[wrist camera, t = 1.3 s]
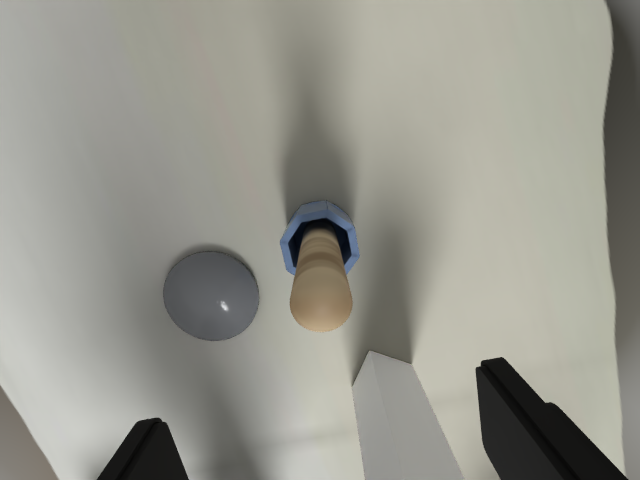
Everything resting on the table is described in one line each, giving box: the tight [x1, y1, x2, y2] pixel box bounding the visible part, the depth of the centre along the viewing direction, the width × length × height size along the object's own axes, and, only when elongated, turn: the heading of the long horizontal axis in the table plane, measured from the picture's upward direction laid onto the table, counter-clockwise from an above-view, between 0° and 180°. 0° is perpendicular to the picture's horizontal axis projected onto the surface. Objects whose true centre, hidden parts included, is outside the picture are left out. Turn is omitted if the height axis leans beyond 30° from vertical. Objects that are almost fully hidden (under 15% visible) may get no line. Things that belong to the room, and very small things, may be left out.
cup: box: [280, 200, 360, 276], centre depth 33 cm, size 7×7×7 cm
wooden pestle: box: [290, 218, 352, 332], centre depth 27 cm, size 4×4×18 cm
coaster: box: [163, 251, 259, 341], centre depth 38 cm, size 11×11×1 cm
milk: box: [352, 350, 465, 480], centre depth 31 cm, size 6×6×22 cm
